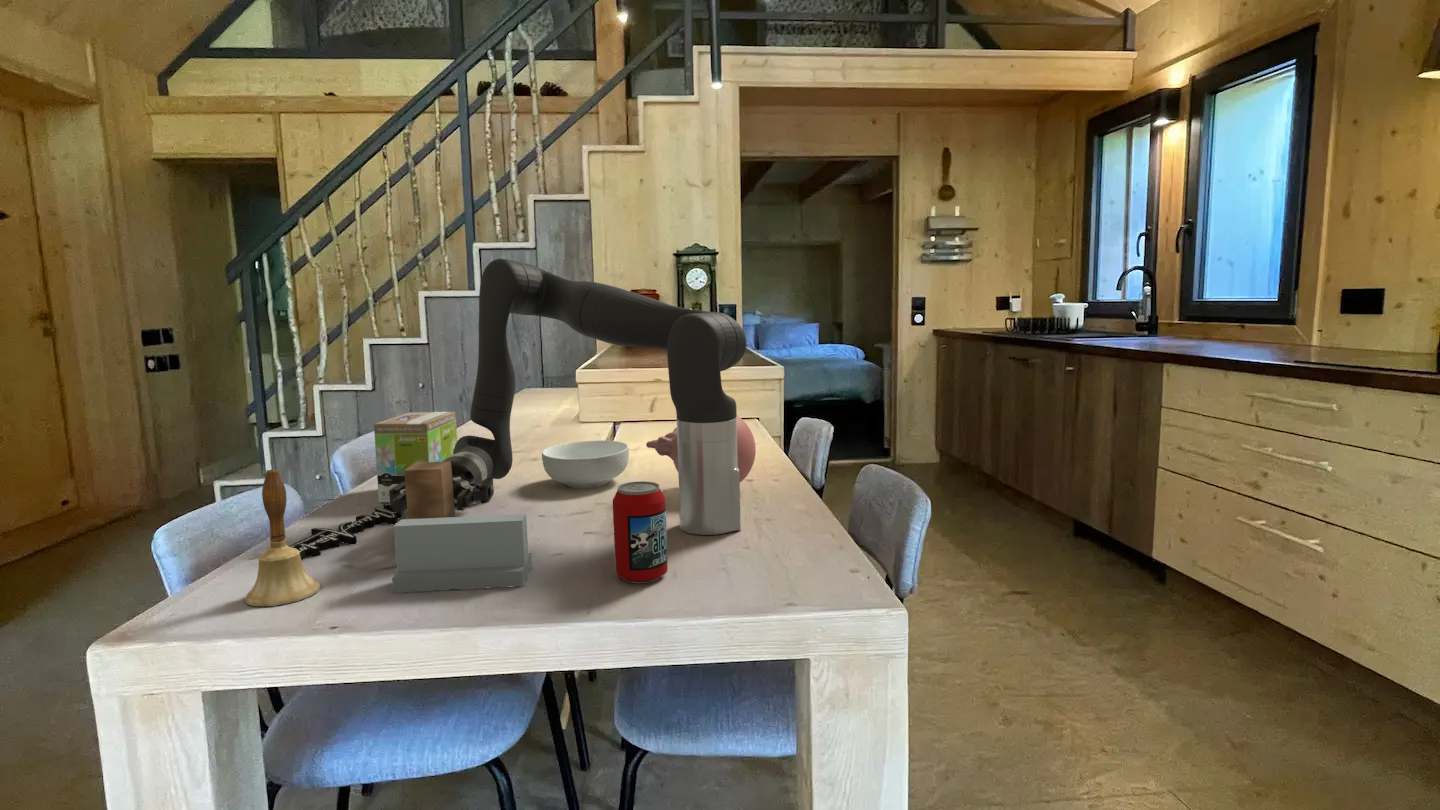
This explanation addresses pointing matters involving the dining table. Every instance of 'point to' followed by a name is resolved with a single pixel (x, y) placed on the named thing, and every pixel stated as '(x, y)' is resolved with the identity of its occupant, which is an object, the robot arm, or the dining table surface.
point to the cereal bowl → (585, 462)
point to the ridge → (461, 553)
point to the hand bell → (279, 556)
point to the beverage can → (640, 532)
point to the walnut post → (429, 490)
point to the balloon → (744, 447)
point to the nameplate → (344, 532)
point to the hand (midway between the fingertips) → (428, 505)
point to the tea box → (411, 445)
